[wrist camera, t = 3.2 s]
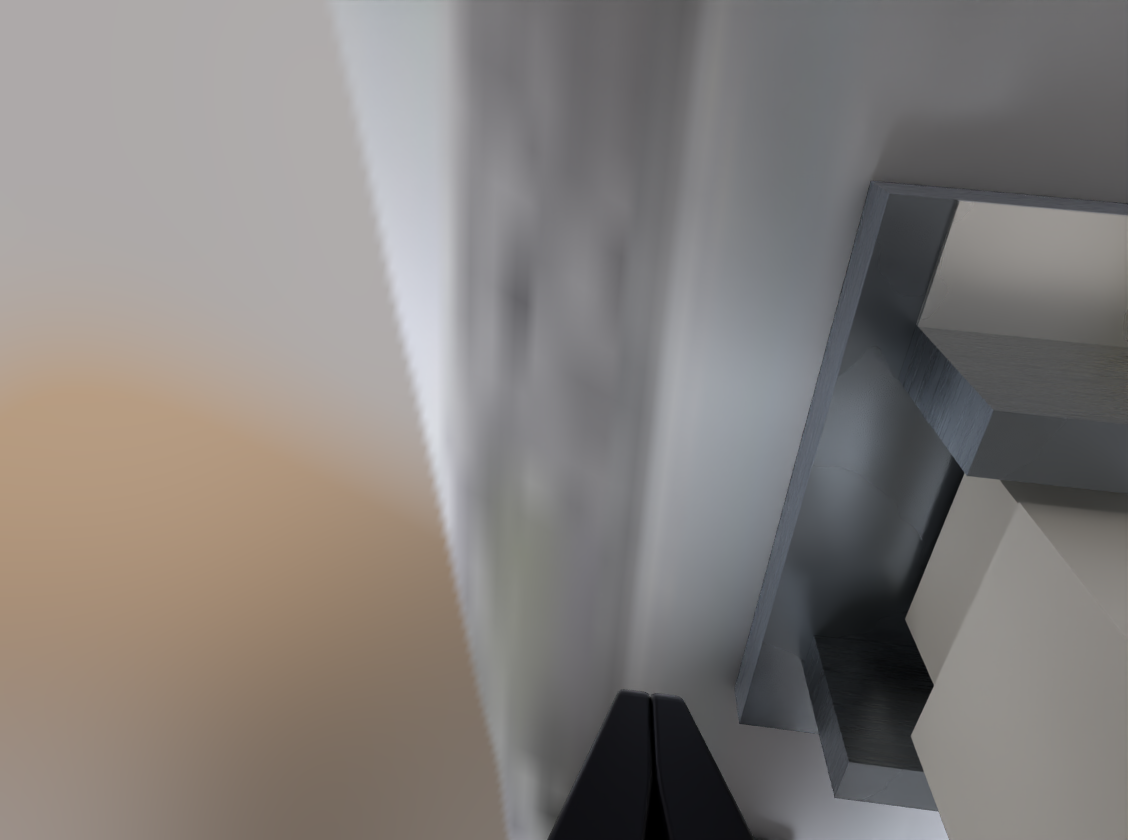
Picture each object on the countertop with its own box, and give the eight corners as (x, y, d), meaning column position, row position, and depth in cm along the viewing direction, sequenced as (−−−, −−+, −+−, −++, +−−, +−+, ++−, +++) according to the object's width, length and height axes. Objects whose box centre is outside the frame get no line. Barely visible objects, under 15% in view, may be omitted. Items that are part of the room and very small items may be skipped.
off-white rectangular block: (1049, 655, 14) (1376, 1166, 8) (872, 634, 15) (1052, 1115, 8) (1168, 442, 12) (1777, 929, 6) (954, 420, 12) (1303, 865, 6)
